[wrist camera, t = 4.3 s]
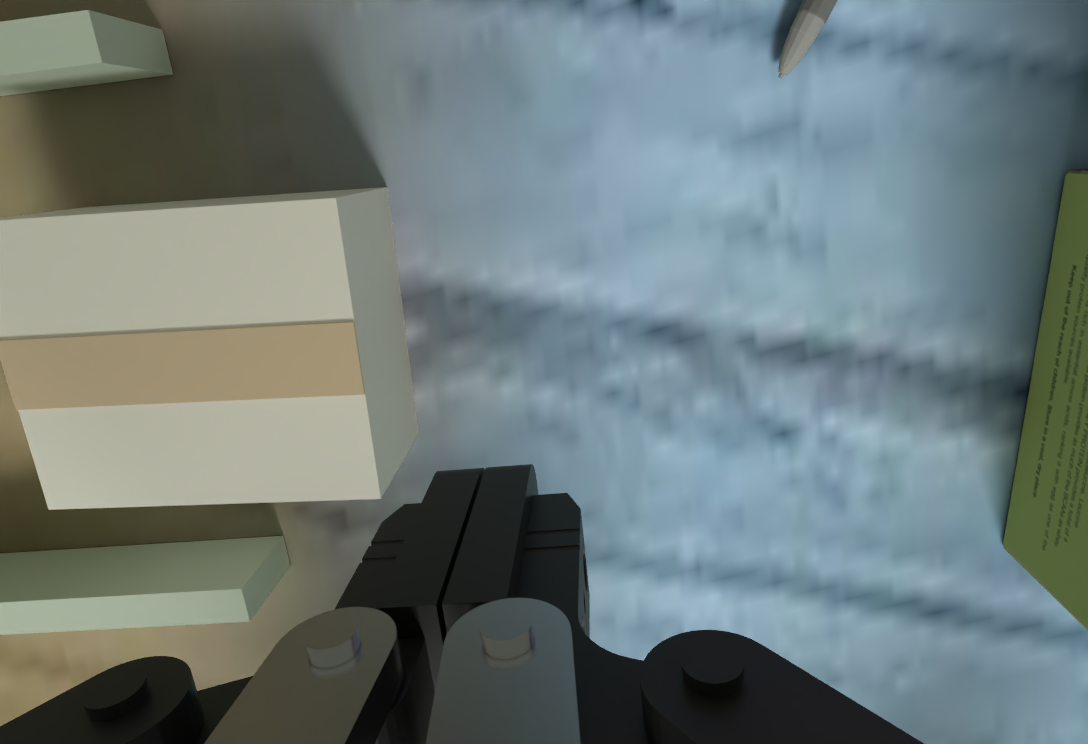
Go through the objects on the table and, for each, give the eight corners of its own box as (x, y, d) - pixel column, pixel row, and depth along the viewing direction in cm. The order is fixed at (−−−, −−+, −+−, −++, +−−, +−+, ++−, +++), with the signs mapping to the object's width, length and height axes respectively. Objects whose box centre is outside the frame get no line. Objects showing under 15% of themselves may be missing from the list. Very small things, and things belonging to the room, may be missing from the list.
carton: (389, 186, 27) (335, 198, 21) (420, 431, 30) (380, 500, 24) (88, 206, 28) (-42, 222, 22) (147, 442, 31) (46, 511, 25)
